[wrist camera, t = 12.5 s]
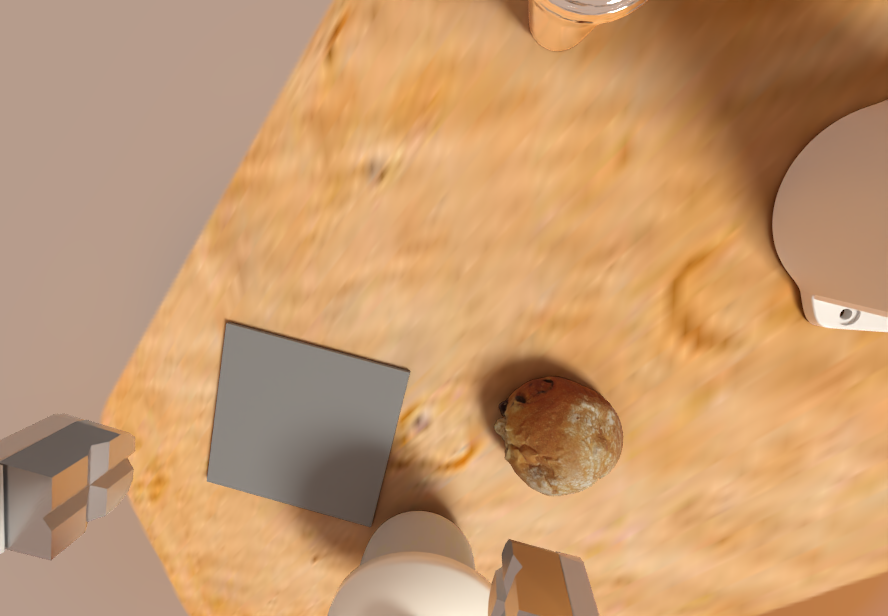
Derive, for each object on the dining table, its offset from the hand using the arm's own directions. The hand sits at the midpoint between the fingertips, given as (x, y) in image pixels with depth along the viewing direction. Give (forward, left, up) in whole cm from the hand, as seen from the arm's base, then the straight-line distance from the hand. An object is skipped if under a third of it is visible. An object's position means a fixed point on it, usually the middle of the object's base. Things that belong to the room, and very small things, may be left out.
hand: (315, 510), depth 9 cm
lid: (-6, +26, -19) cm, 33 cm away
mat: (+9, +17, -27) cm, 33 cm away
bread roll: (-13, +10, -28) cm, 32 cm away
